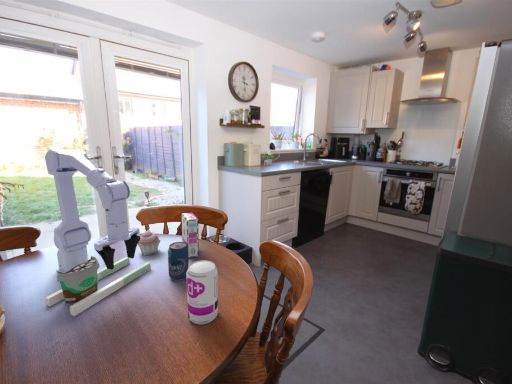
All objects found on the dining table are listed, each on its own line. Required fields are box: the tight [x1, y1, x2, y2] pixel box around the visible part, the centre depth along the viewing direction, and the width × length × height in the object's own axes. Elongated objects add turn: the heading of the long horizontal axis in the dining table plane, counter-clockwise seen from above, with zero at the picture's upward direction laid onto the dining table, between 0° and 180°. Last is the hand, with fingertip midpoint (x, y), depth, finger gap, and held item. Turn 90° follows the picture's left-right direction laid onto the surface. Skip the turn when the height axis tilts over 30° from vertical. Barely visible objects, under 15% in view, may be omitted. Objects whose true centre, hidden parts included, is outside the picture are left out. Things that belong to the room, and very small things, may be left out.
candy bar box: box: [181, 212, 200, 259], centre depth 108 cm, size 11×5×16 cm, turn 27°
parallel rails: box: [44, 256, 152, 317], centre depth 84 cm, size 12×28×2 cm, turn 159°
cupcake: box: [137, 229, 162, 256], centre depth 107 cm, size 9×9×10 cm
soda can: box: [167, 241, 190, 282], centre depth 89 cm, size 7×7×12 cm
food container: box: [56, 255, 101, 304], centre depth 77 cm, size 12×6×10 cm, turn 168°
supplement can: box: [186, 260, 219, 325], centre depth 69 cm, size 8×8×15 cm
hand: (121, 262), depth 79 cm, fingers open, 7 cm apart
